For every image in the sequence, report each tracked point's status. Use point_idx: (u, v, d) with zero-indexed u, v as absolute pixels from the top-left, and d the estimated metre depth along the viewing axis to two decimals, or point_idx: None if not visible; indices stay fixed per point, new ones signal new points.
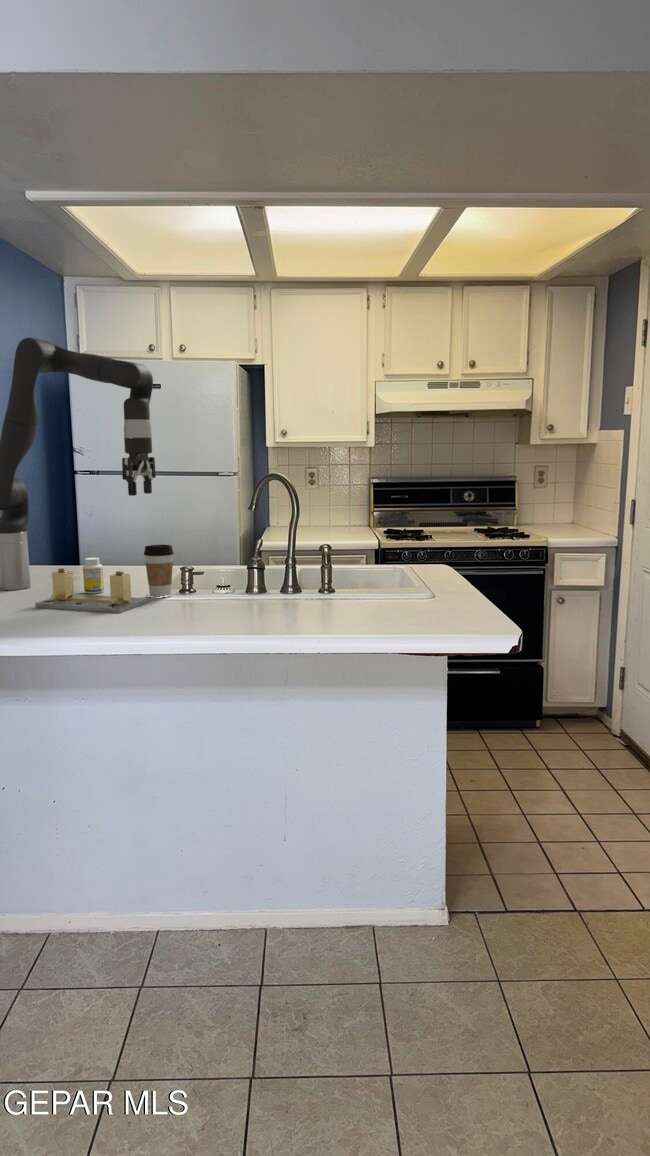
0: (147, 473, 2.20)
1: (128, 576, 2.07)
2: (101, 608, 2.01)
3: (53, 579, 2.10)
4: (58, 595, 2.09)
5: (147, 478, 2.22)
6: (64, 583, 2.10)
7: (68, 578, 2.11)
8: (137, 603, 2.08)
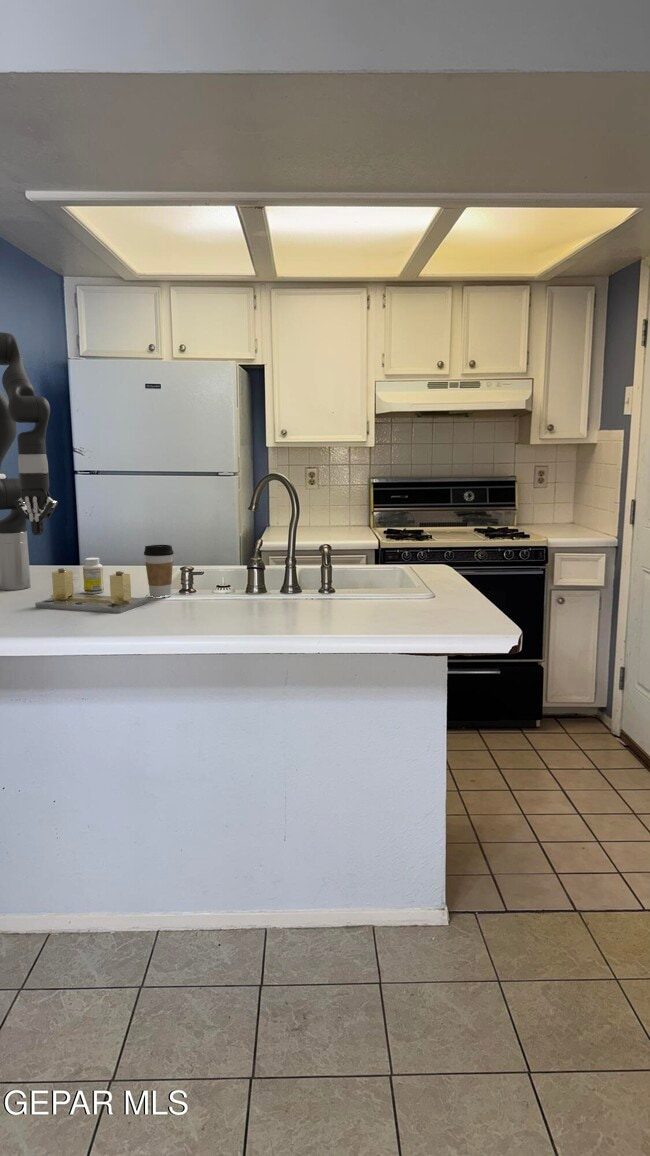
0: None
1: (128, 576, 2.07)
2: (101, 608, 2.01)
3: (53, 579, 2.10)
4: (58, 595, 2.09)
5: None
6: (64, 583, 2.10)
7: (68, 578, 2.11)
8: (137, 603, 2.08)
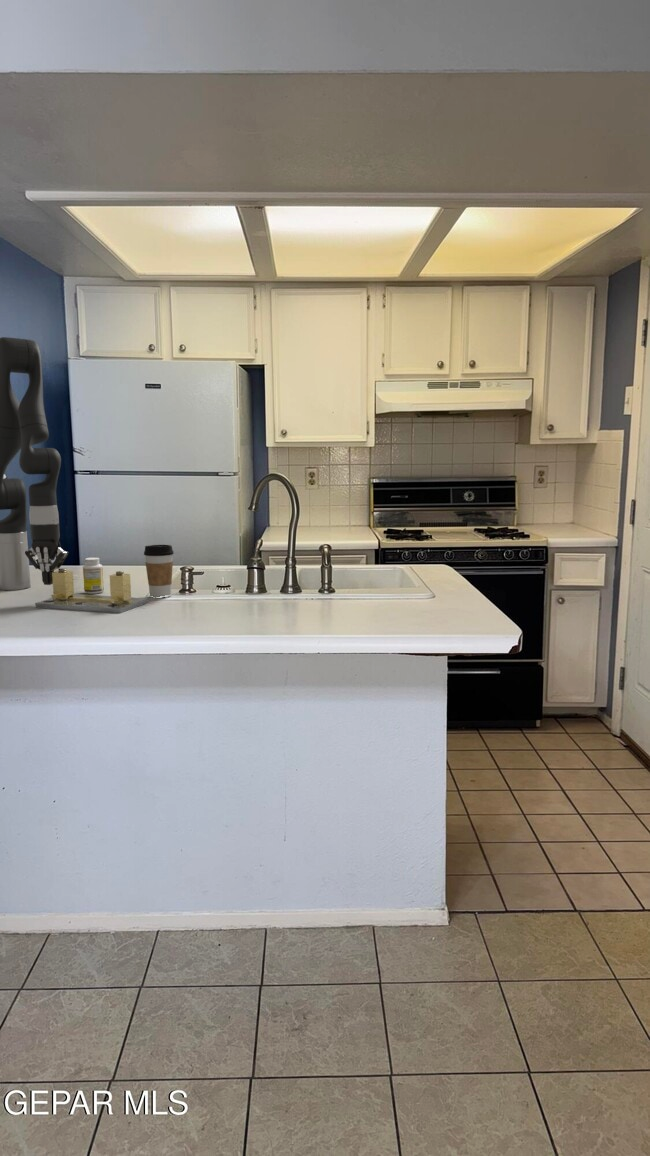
0: None
1: (128, 576, 2.07)
2: (101, 608, 2.01)
3: (53, 579, 2.10)
4: (58, 595, 2.09)
5: None
6: (64, 583, 2.10)
7: (68, 578, 2.11)
8: (137, 603, 2.08)
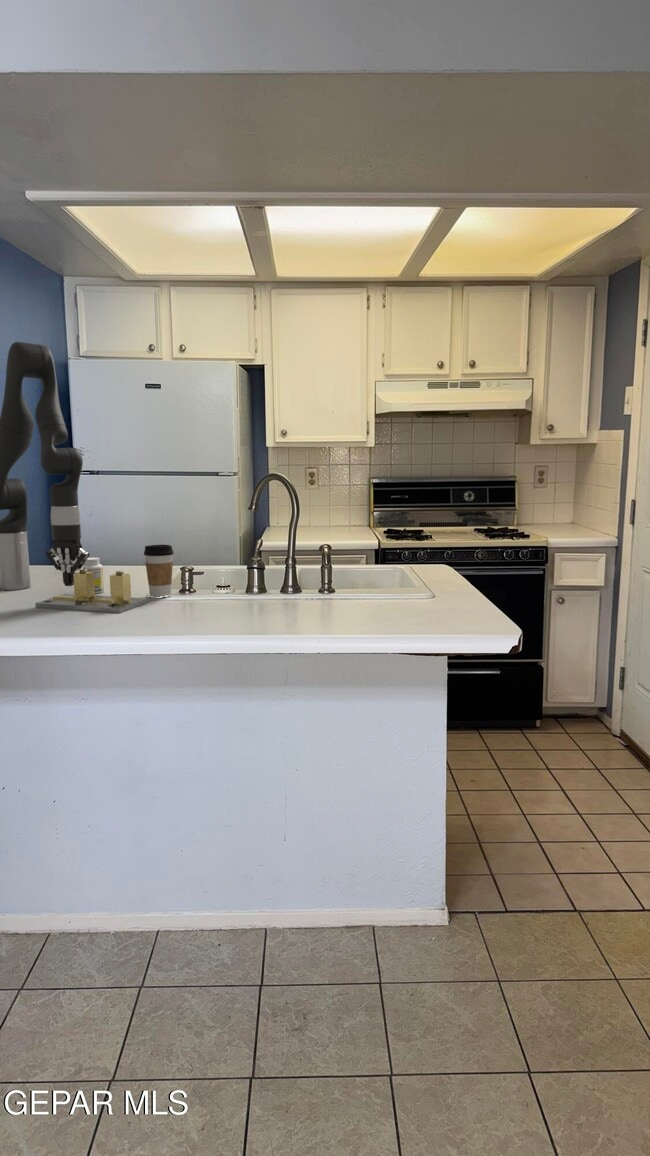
0: None
1: (128, 576, 2.07)
2: (101, 608, 2.01)
3: (75, 580, 2.08)
4: (80, 596, 2.07)
5: None
6: (86, 584, 2.08)
7: (90, 579, 2.09)
8: (137, 603, 2.08)
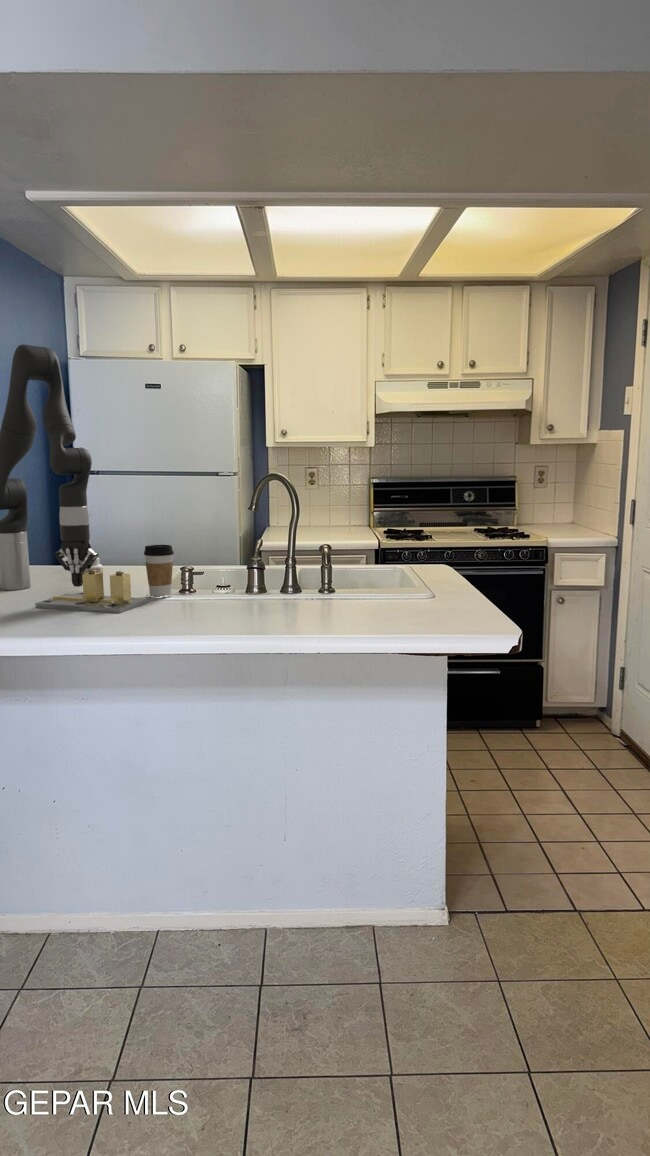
0: None
1: (128, 576, 2.07)
2: (101, 608, 2.01)
3: (83, 581, 2.08)
4: (89, 597, 2.07)
5: None
6: (95, 585, 2.07)
7: (99, 579, 2.08)
8: (137, 603, 2.08)
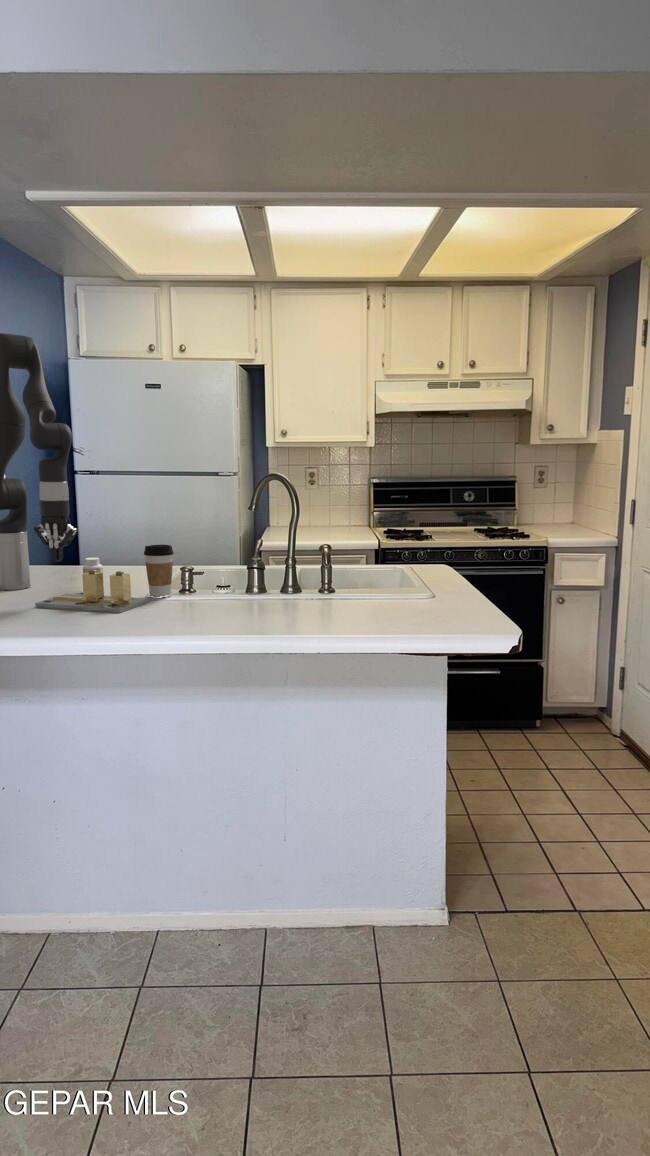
0: None
1: (128, 576, 2.07)
2: (101, 608, 2.01)
3: (83, 581, 2.08)
4: (89, 597, 2.07)
5: None
6: (95, 585, 2.07)
7: (99, 579, 2.08)
8: (137, 603, 2.08)
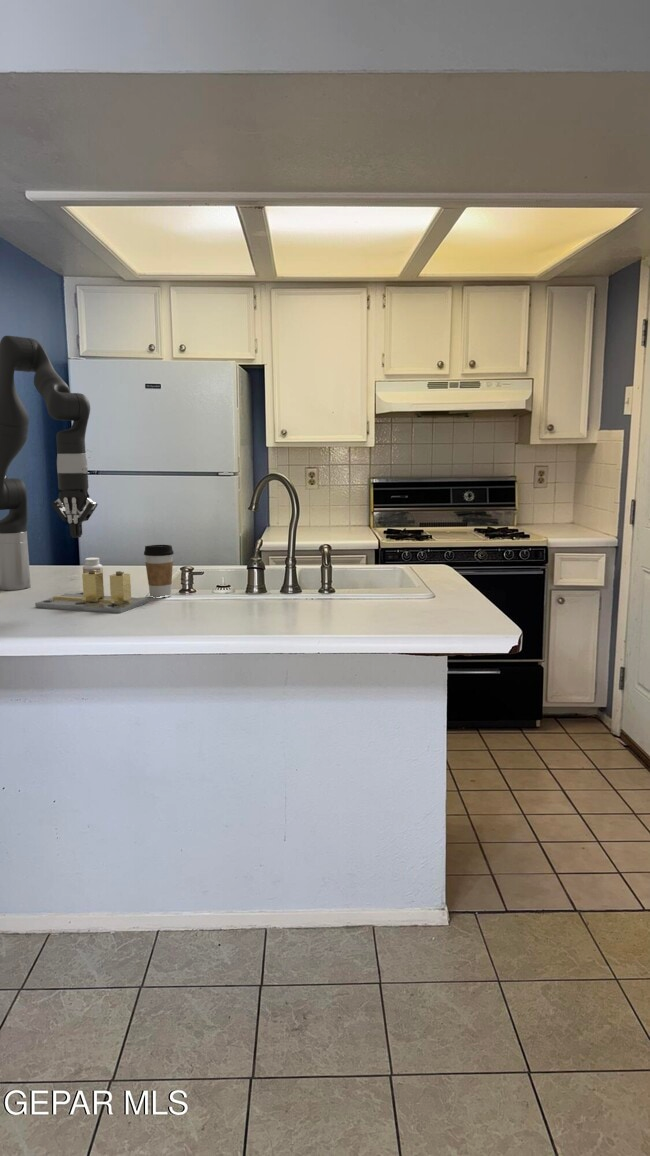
0: None
1: (128, 576, 2.07)
2: (101, 608, 2.01)
3: (83, 581, 2.08)
4: (89, 597, 2.07)
5: None
6: (95, 585, 2.07)
7: (99, 579, 2.08)
8: (137, 603, 2.08)
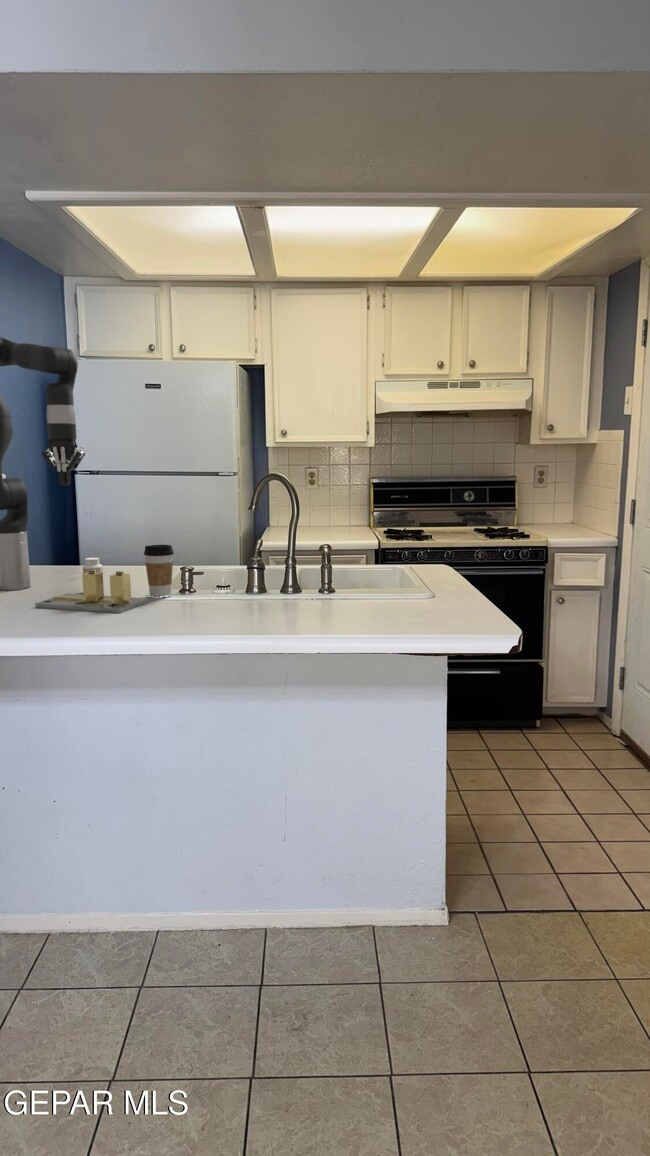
0: None
1: (128, 576, 2.07)
2: (101, 608, 2.01)
3: (83, 581, 2.08)
4: (89, 597, 2.07)
5: None
6: (95, 585, 2.07)
7: (99, 579, 2.08)
8: (137, 603, 2.08)
